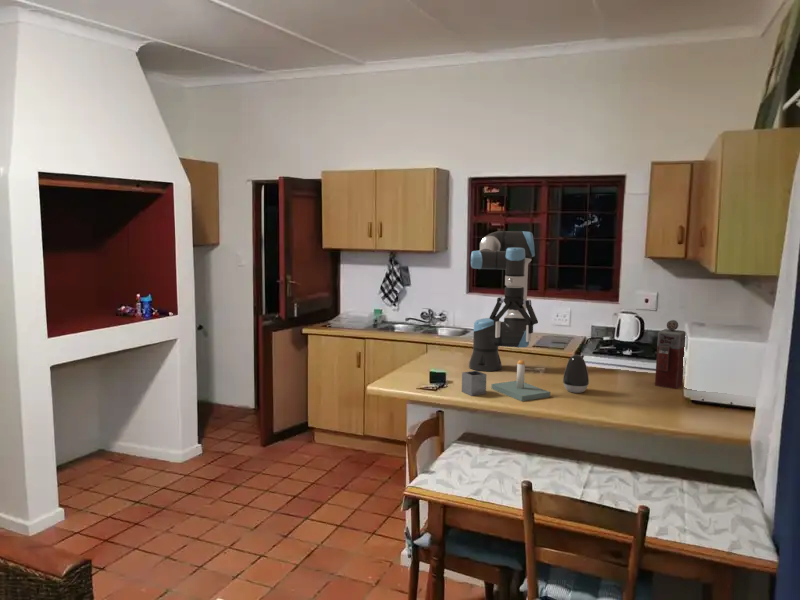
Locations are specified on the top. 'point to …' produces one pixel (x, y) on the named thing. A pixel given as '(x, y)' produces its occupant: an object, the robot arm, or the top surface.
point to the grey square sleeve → (473, 383)
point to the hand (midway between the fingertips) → (512, 339)
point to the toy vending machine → (670, 356)
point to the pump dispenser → (576, 375)
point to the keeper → (520, 387)
